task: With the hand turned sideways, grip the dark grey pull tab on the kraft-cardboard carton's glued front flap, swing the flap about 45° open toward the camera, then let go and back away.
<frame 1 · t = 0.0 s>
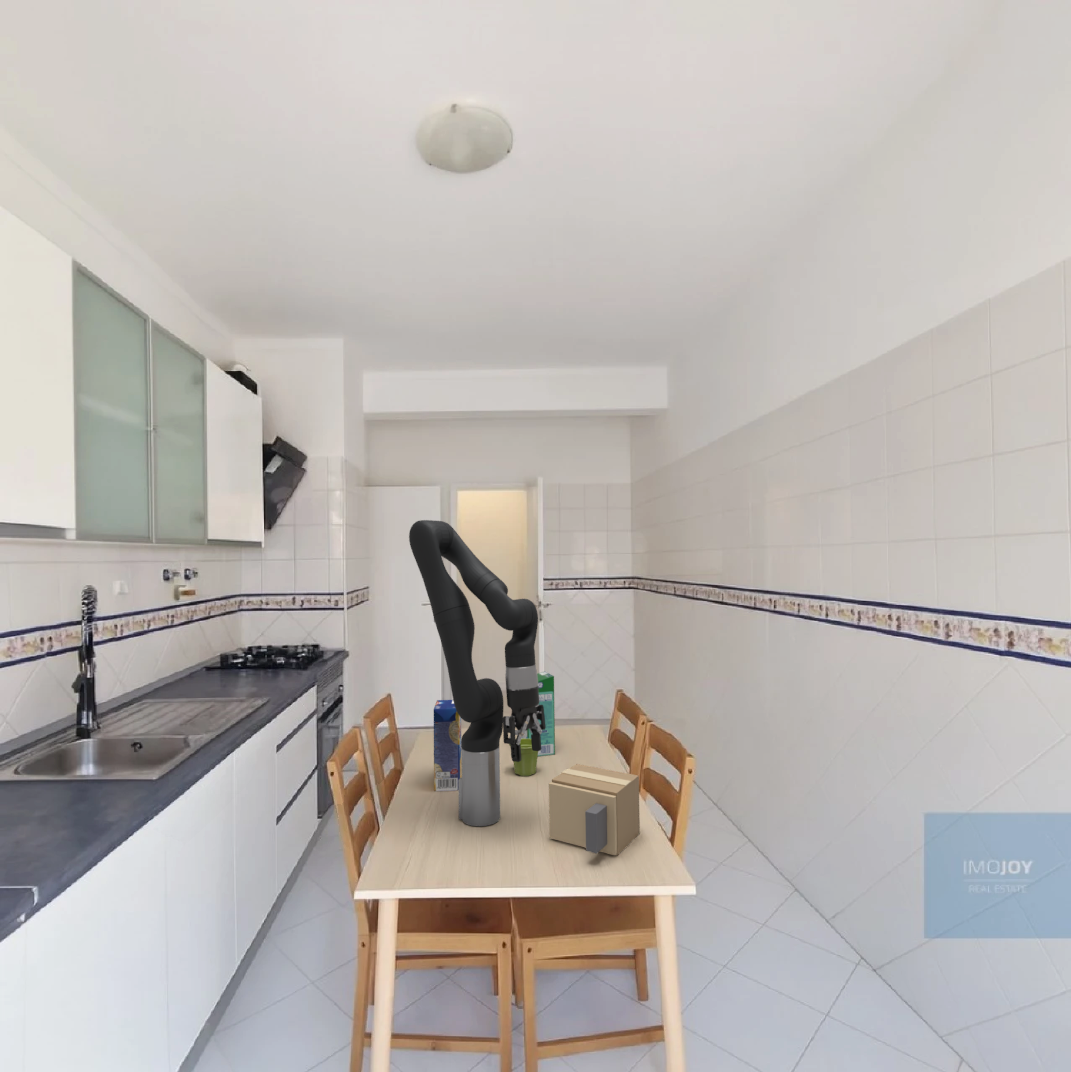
hand: (526, 755, 144), 17 cm above the table, tool pointing down, fingers open, 8 cm apart
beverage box: (448, 784, 174), on the table
milk carton: (537, 752, 201), on the table
plant pot: (525, 773, 182), on the table
carton: (596, 835, 141), on the table
front flap: (576, 821, 133), point 7 cm above the table, hinge at 0.0°
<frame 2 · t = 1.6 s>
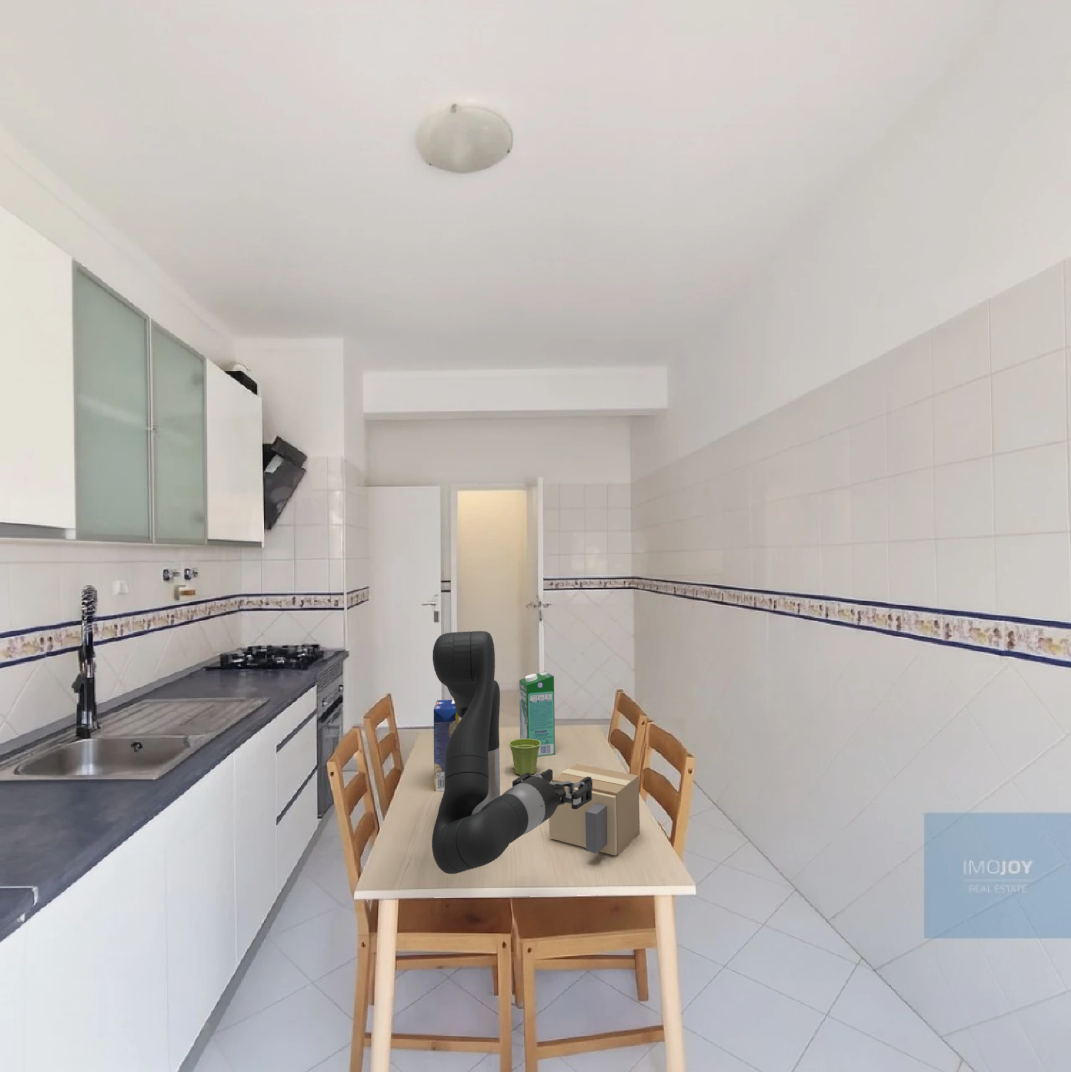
hand: (570, 778, 121), 20 cm above the table, tool horizontal, fingers open, 8 cm apart
nothing on the table moved.
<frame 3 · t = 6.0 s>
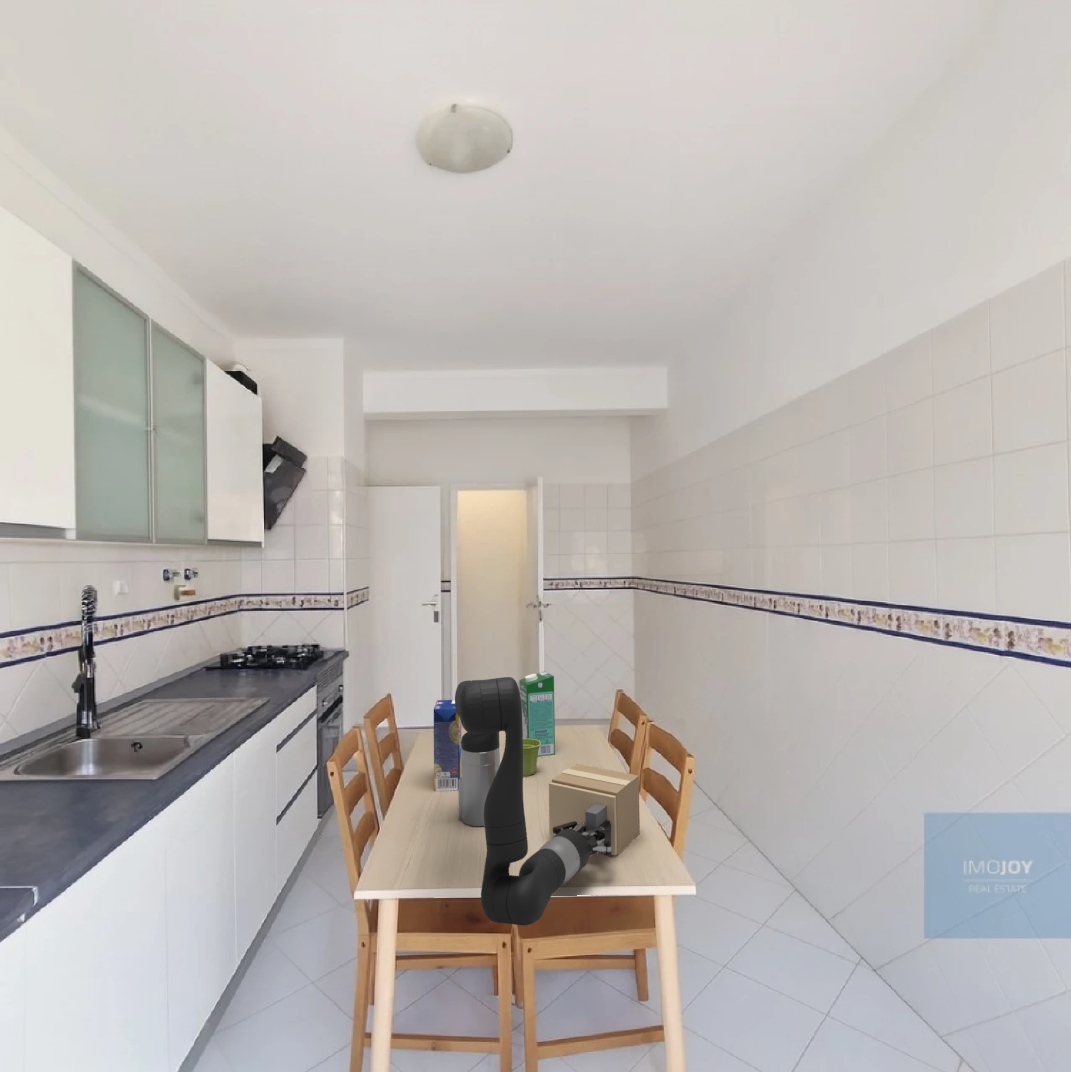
hand: (601, 823, 132), 6 cm above the table, tool horizontal, fingers closed on front flap, 2 cm apart
front flap: (576, 821, 133), point 7 cm above the table, hinge at 0.0°, touching gripper
everything else where it was.
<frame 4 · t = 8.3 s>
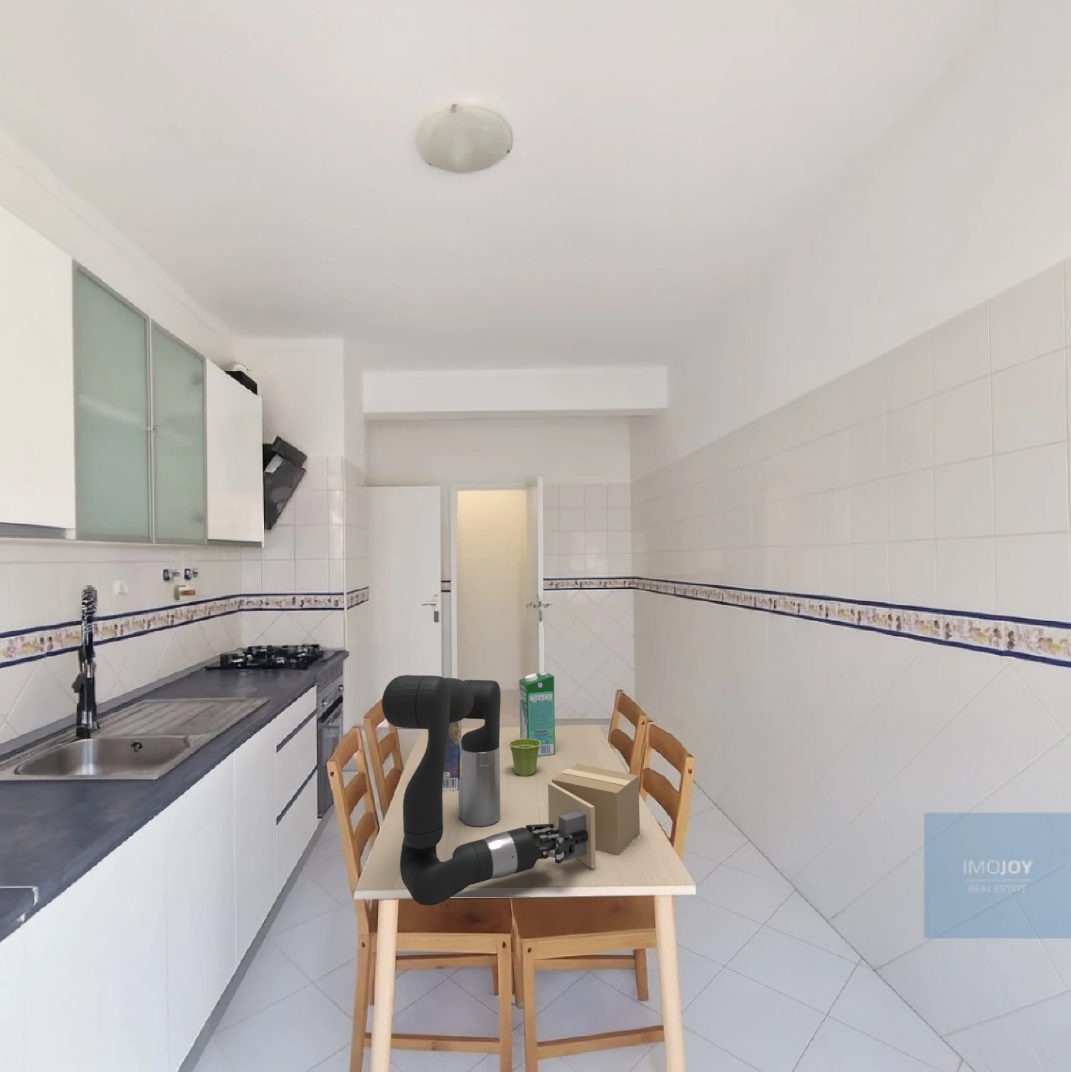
hand: (581, 832, 128), 7 cm above the table, tool horizontal, fingers closed on front flap, 2 cm apart
front flap: (560, 825, 131), point 7 cm above the table, hinge at 26.6°, touching gripper
everything else where it was.
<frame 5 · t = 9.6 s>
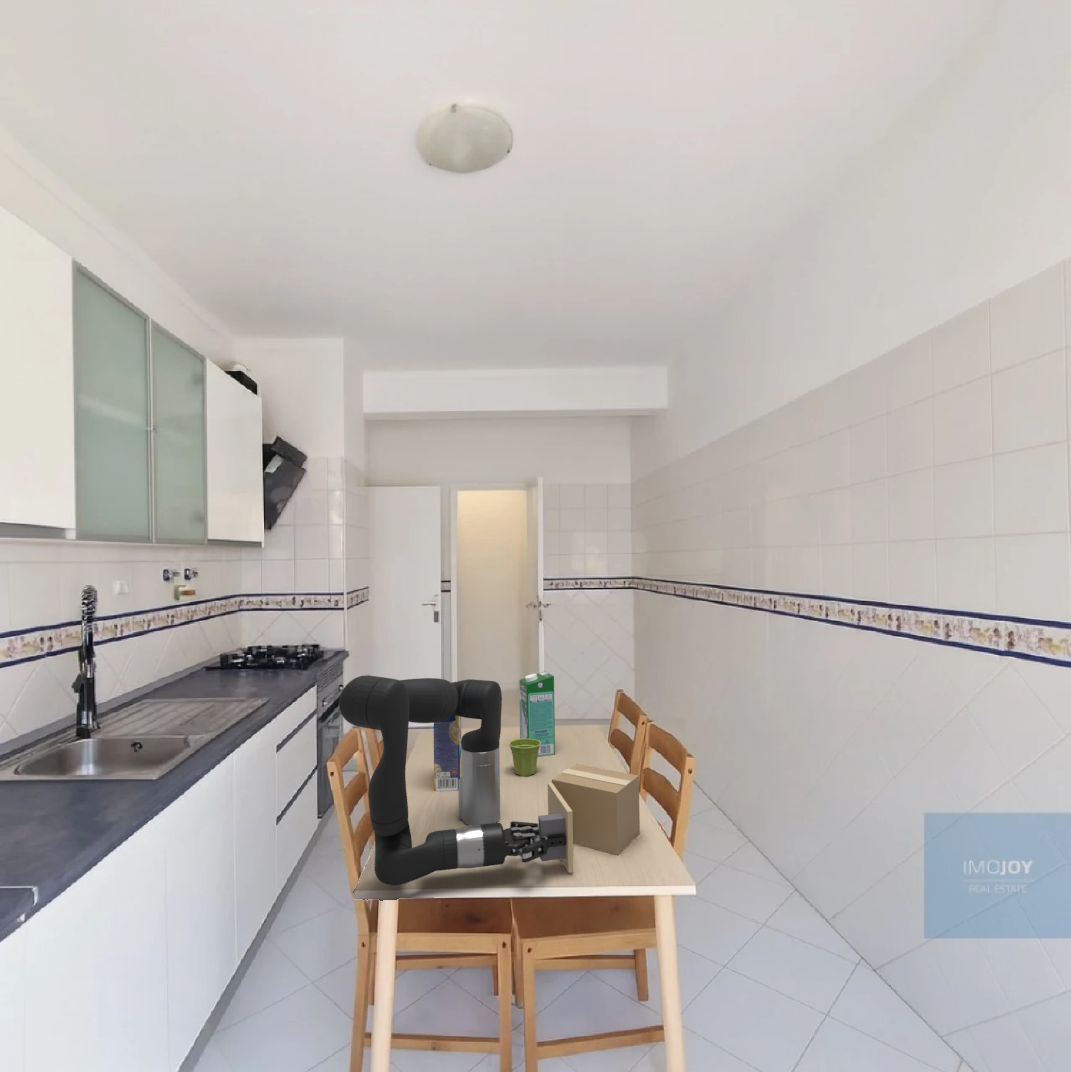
hand: (563, 835, 127), 6 cm above the table, tool horizontal, fingers closed on front flap, 2 cm apart
front flap: (548, 826, 131), point 7 cm above the table, hinge at 44.9°, touching gripper
everything else where it was.
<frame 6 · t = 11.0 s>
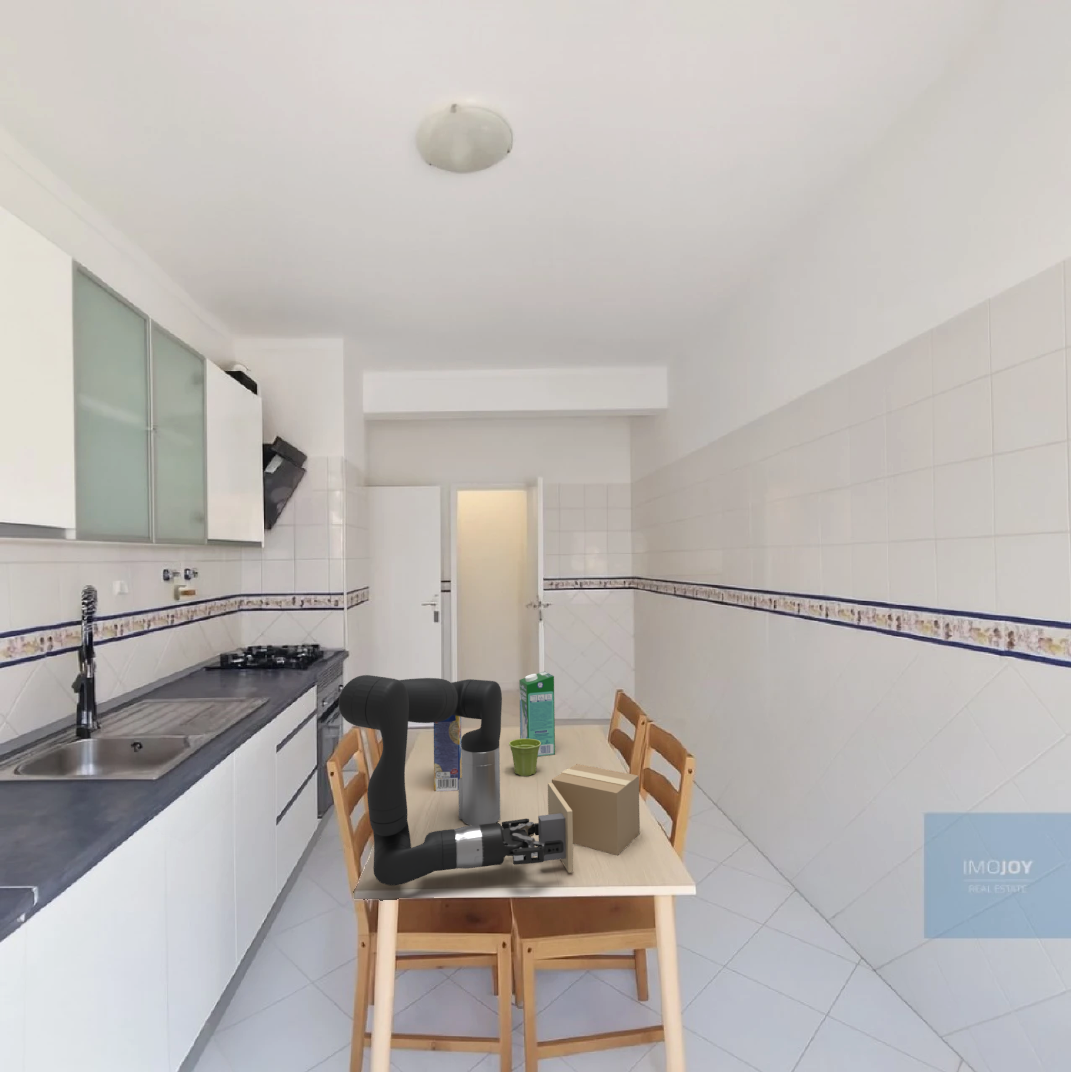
hand: (557, 836, 126), 6 cm above the table, tool horizontal, fingers open, 8 cm apart
front flap: (548, 826, 131), point 7 cm above the table, hinge at 44.9°
everything else where it was.
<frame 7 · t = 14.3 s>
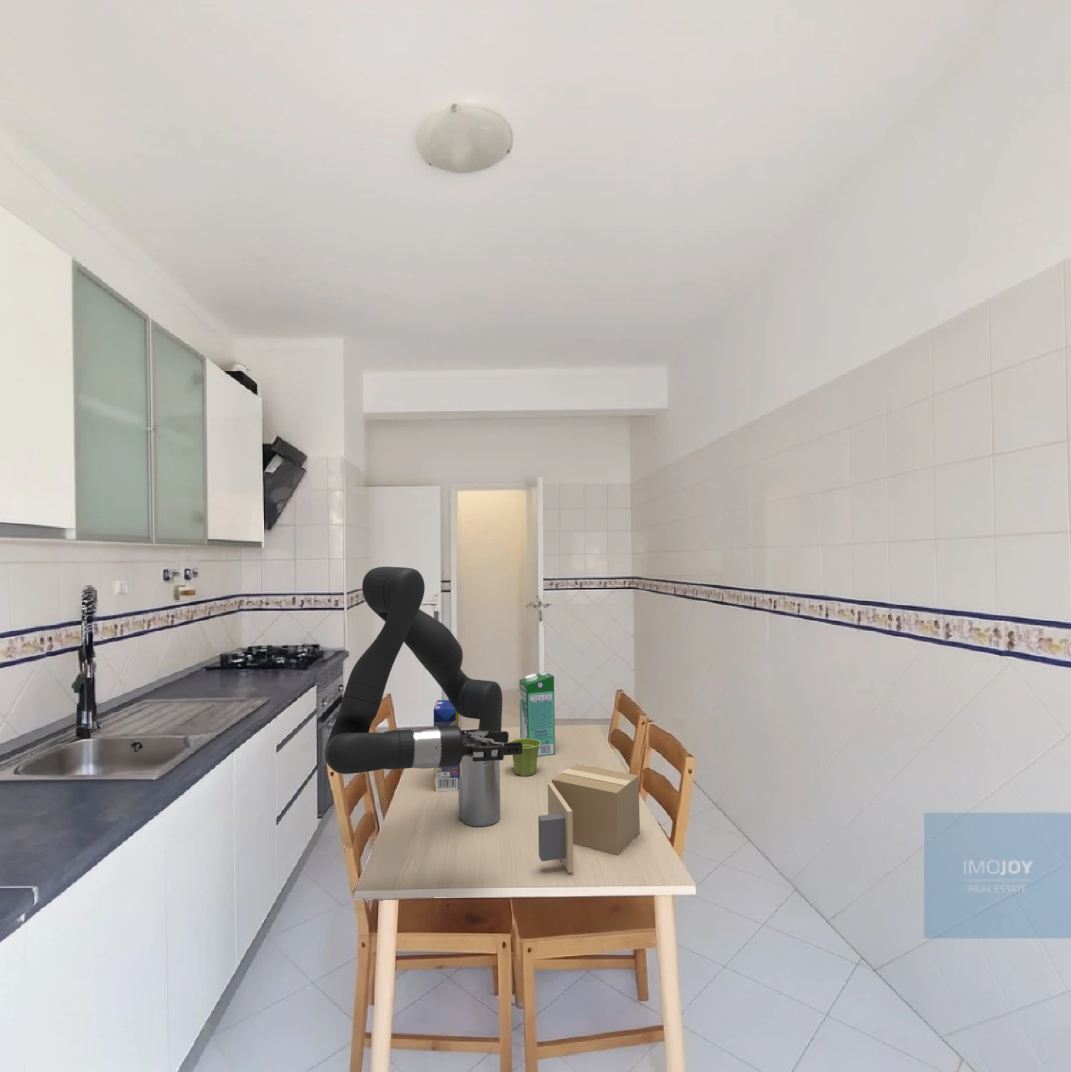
hand: (514, 742, 125), 26 cm above the table, tool horizontal, fingers open, 8 cm apart
nothing on the table moved.
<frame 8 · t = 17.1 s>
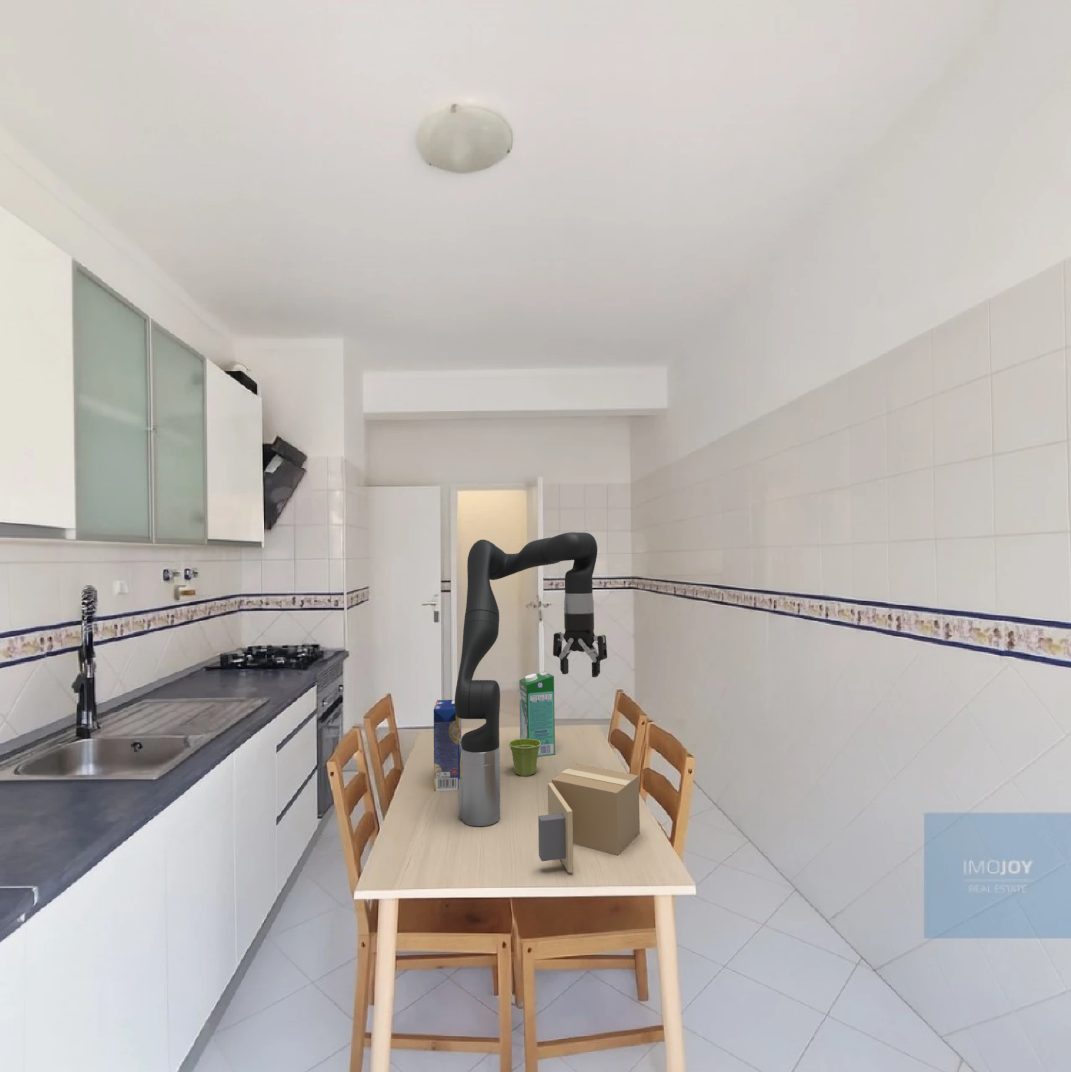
hand: (579, 675, 157), 33 cm above the table, tool pointing down, fingers open, 8 cm apart
nothing on the table moved.
at the end: front flap at +45° (first picture: +0°); the gripper is holding nothing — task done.
